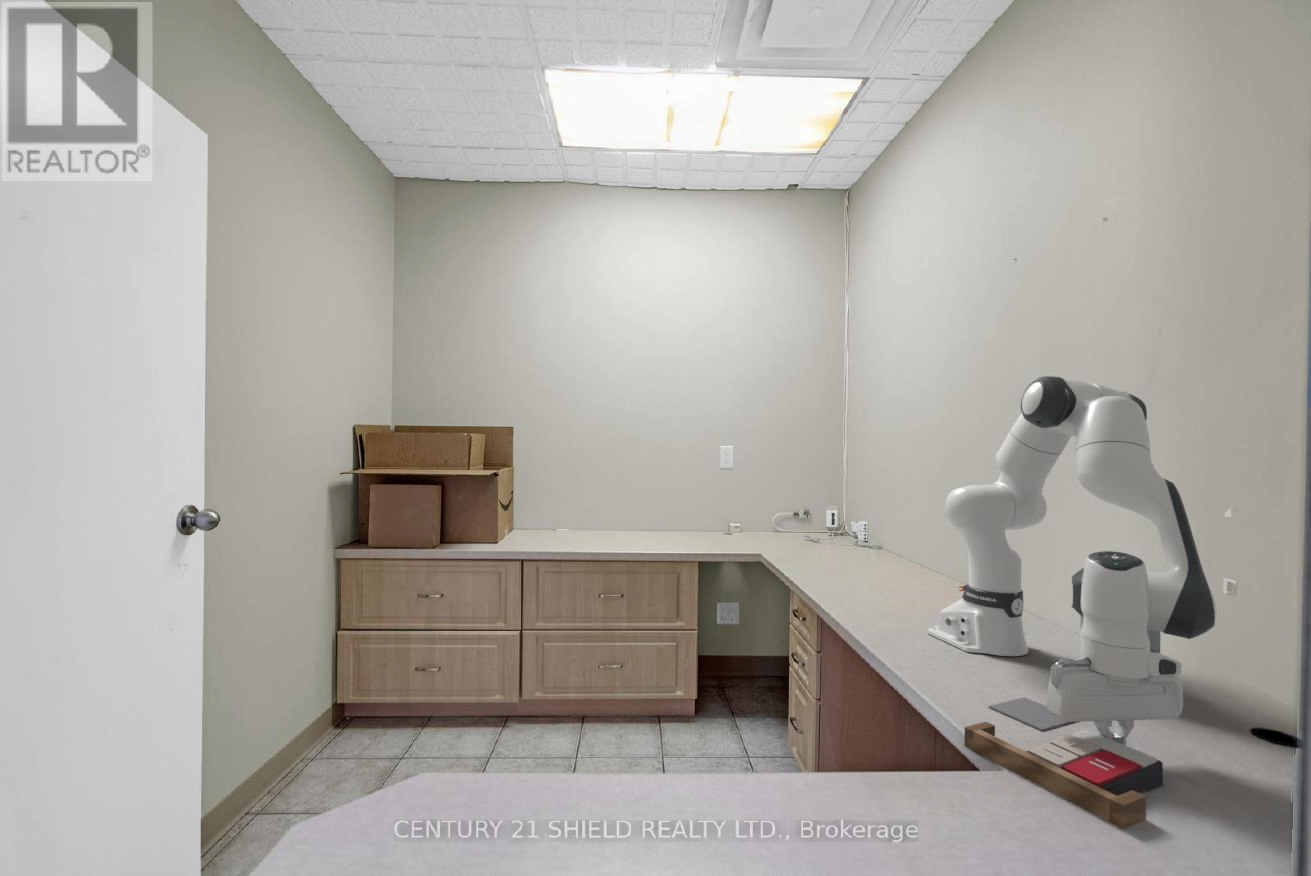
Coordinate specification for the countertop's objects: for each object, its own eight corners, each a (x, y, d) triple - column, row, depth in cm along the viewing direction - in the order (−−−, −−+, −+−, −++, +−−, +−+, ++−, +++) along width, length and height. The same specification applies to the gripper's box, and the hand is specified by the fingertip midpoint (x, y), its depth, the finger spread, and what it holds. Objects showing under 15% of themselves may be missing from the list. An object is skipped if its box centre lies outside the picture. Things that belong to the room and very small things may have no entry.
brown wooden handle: (964, 745, 99) (964, 726, 99) (985, 739, 101) (986, 721, 101) (1123, 829, 78) (1123, 805, 78) (1146, 819, 80) (1146, 796, 80)
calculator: (1021, 747, 92) (1084, 724, 99) (1022, 775, 93) (1084, 751, 99) (1099, 784, 82) (1164, 756, 89) (1100, 816, 83) (1164, 786, 89)
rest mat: (988, 707, 114) (988, 705, 114) (1024, 698, 118) (1024, 697, 118) (1041, 731, 105) (1041, 729, 105) (1078, 720, 109) (1078, 719, 109)
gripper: (1066, 666, 93) (1065, 758, 93) (1192, 663, 95) (1191, 754, 94) (1037, 651, 99) (1036, 738, 99) (1155, 649, 101) (1154, 734, 101)
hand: (1113, 745), depth 97 cm, fingers closed
